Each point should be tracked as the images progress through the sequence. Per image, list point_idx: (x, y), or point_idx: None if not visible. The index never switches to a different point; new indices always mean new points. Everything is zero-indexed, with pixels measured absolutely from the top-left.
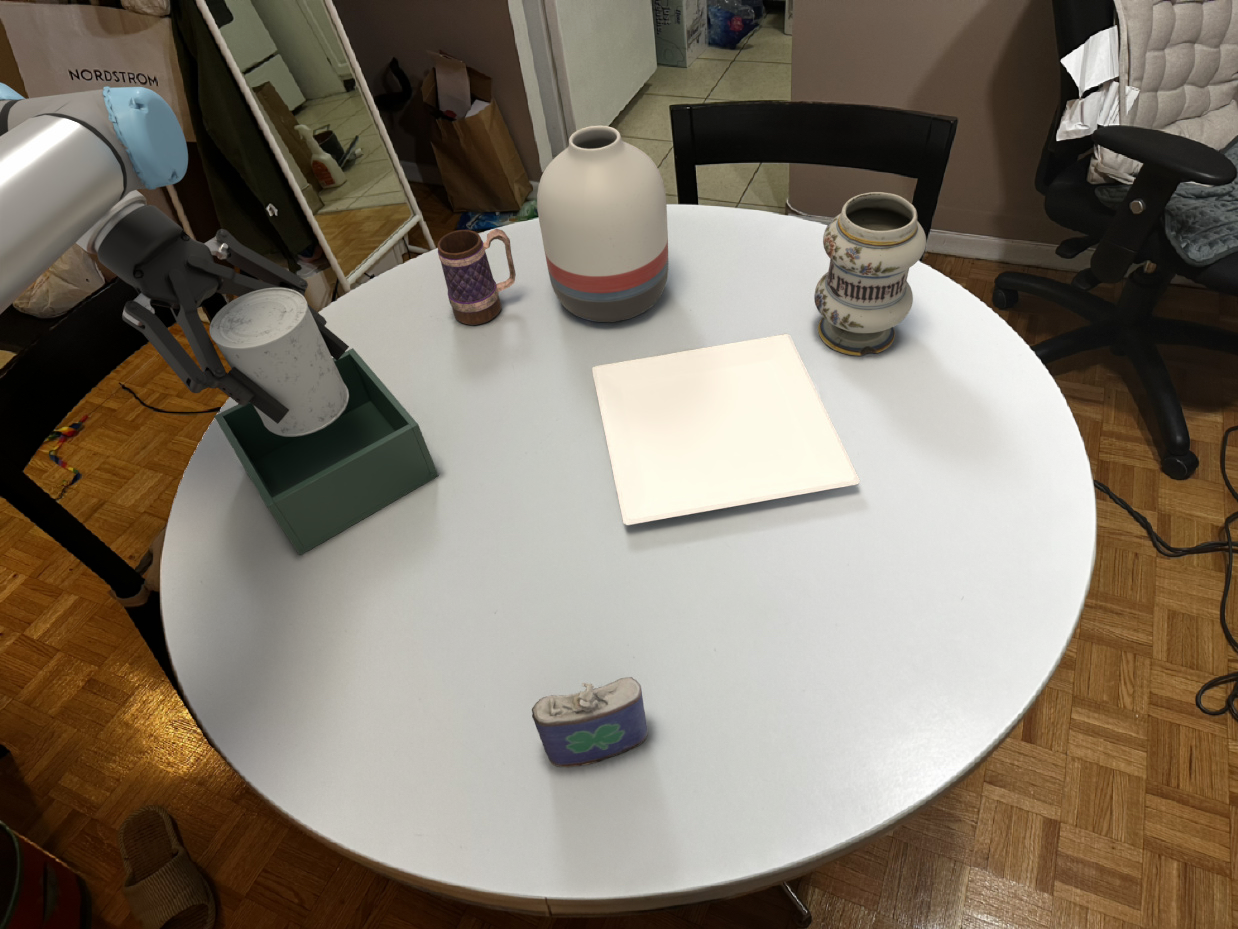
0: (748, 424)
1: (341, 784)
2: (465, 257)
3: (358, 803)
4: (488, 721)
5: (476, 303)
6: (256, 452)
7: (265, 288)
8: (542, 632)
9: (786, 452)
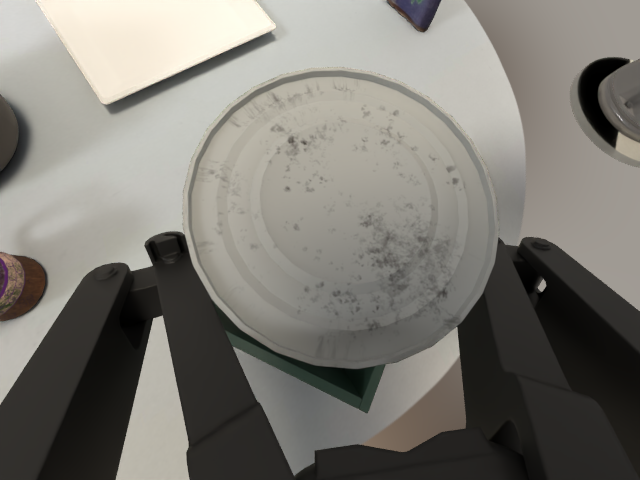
0: None
1: (497, 114)
2: None
3: (498, 101)
4: (427, 63)
5: (4, 260)
6: (337, 368)
7: (195, 312)
8: (366, 59)
9: None
